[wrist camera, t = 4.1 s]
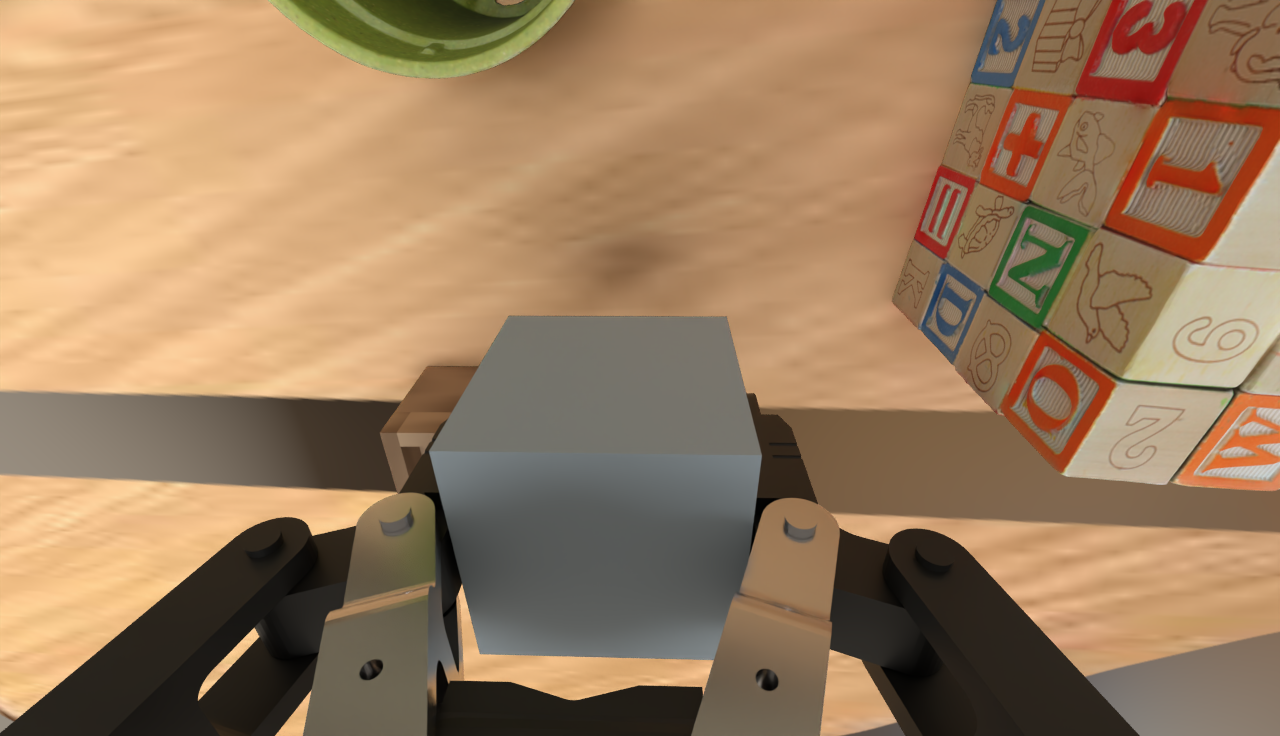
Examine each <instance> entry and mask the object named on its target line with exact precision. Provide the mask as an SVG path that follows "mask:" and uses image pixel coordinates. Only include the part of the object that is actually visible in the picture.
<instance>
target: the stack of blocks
mask: <svg viewBox="0 0 1280 736" xmlns="http://www.w3.org/2000/svg"><path fill="white" fill-rule="evenodd" d="M892 302H893V304H894V305H895V306H896V307H897V308H898V309H899V310H900V311H901V312H902V313H903V314H904V315H905V316H906V317H907V318H908V319H909V320H910V321H911V322H912V323H913V325H914V326H916V327H917V328H918V329H919V330H921V331H922V332H923V333H924V335H925V336H926V337H927V338H928V339H929V340H930V341H931V342H932V343H933V344H934V345H935V346H936V347H937V348H938V349H939V350H940V351H941V353H942V354H943V355H944V356H945V357H946V358H947V359H948V361H949V362H950V363H951V364H952V365H954V366H955V369H956V371H957V372H958V373H959V374H960V375H961V376H962V377H963V379H964V380H965V382H966V383H967V384H969V385H970V386H971V387H972V389H973V390H974V391H975V392H976V393H977V394H978V395H979V396H980V397H981V398H982V399H983V400H984V402H985V403H986V404H988V405H989V406H990V407H991V408H992V410H993V411H994V412H995V413H997V414H998V415H1004V416H1005V417H1006V418H1007V419H1008V420H1009V422H1010V423H1011V424H1012V425H1013V426H1014V427H1015V428H1016V429H1017V430H1018V431H1019V432H1020V433H1021V434H1022V435H1023V437H1025V439H1026V440H1027V441H1028V442H1029V443H1030V444H1031V445H1032V446H1033V447H1034V448H1035V449H1036V450H1037V451H1038V452H1039V453H1040V454H1041V455H1042V456H1043V458H1044V459H1045V460H1046V461H1047V462H1048V463H1049V464H1050V465H1051V466H1052V467H1053V468H1054V469H1055V470H1057V472H1058V473H1060V474H1062V475H1064V476H1067V477H1081V478H1094V479H1106V480H1118V481H1130V482H1139V483H1148V484H1158V485H1165V484H1167V483H1168V481H1170V482H1172V483H1175V484H1179V485H1184V486H1194V487H1210V488H1226V489H1241V490H1258V491H1275V490H1278V489H1280V0H997V2H996V5H995V8H994V12H993V15H992V18H991V21H990V24H989V26H988V29H987V32H986V35H985V38H984V41H983V44H982V47H981V49H980V52H979V55H978V58H977V61H976V64H975V67H974V69H973V72H972V75H971V83H970V85H969V87H968V89H967V92H966V94H965V97H964V100H963V103H962V106H961V109H960V112H959V115H958V118H957V121H956V123H955V126H954V129H953V132H952V135H951V138H950V141H949V144H948V147H947V150H946V153H945V156H944V159H943V162H942V164H941V165H940V167H939V168H938V171H937V174H936V177H935V179H934V182H933V185H932V188H931V191H930V194H929V197H928V200H927V202H926V205H925V208H924V211H923V214H922V217H921V219H920V222H919V225H918V228H917V231H916V234H915V237H914V240H913V242H912V244H911V247H910V250H909V252H908V255H907V258H906V261H905V264H904V267H903V270H902V272H901V275H900V278H899V281H898V284H897V287H896V290H895V293H894V296H893V299H892Z"/></svg>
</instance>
